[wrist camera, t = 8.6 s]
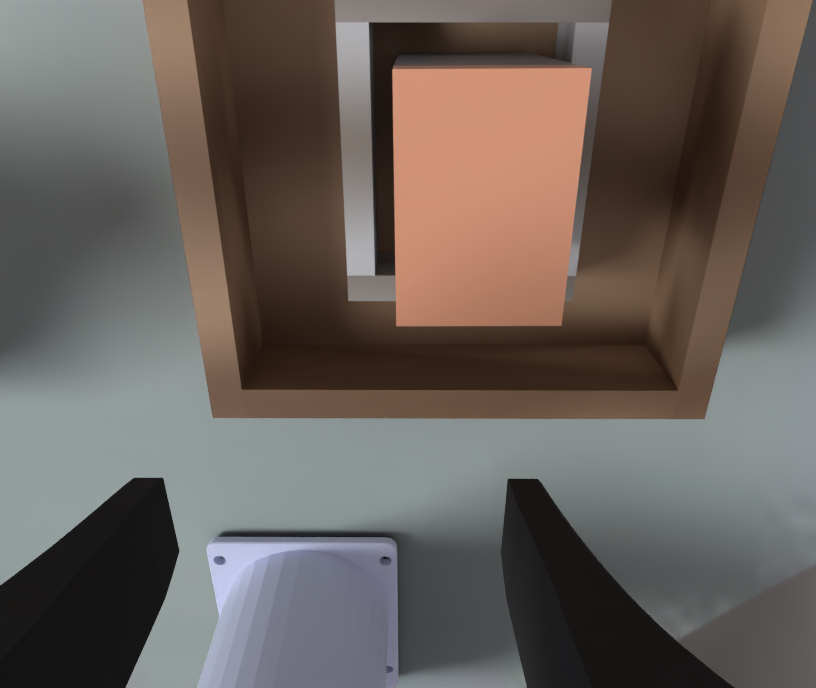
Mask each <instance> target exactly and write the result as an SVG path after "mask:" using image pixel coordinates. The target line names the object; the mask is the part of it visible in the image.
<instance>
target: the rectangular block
mask: <svg viewBox="0 0 816 688" xmlns="http://www.w3.org/2000/svg"><path fill="white" fill-rule="evenodd" d="M591 71H592V68H589V67H585V66H581V65H577V64H573V63H569V62H565V61H560V60H556V59H552V58H548V57H544V56H540V55H536V54H531V53H527V52H471V53H399V54H398V56H397V59H396V61H395V64H394V66H393V69H392V79H393V146H394V212H395V279H396V326H562V317H563V309H564V300H565V292H566V284H567V275H568V267H569V258H570V250H571V241H572V233H573V224H574V216H575V207H576V199H577V190H578V182H579V173H580V165H581V156H582V148H583V139H584V131H585V122H586V114H587V105H588V97H589V88H590V80H591Z"/></svg>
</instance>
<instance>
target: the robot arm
mask: <svg viewBox="0 0 816 688" xmlns="http://www.w3.org/2000/svg"><path fill="white" fill-rule="evenodd" d="M178 554H179V547H178V543H177V538H176V534H175V529H174V525H173V520H172V516H171V511H170V507H169V502H168V498H167V493H166V489H165V484H164V480H163V478H133V479H132V480H131V481H129V482H128V483H127V484H126V485H124V486H123V487H122V488H121V489H120V490H118V491H117V492H116V493H115V494H114V495H113V496H111V497H110V498H109V499H108V500H107V501H105V502H104V503H103V504H102V505H101V506H100V507H98V508H97V509H96V510H95V511H94V512H93V513H91V514H90V515H89V516H88V517H87V518H85V519H84V520H83V521H82V522H81V523H79V524H78V525H77V526H76V527H75V528H73V529H72V530H71V531H70V532H69V533H67V534H66V535H65V536H64V537H63V538H61V539H60V540H59V541H58V542H57V543H55V544H54V545H53V546H52V547H50V548H49V549H48V550H46V551H45V552H44V553H43V554H41V555H40V556H39V557H37V558H36V559H35V560H33V561H32V562H31V563H30V564H28V565H27V566H26V567H24V568H23V569H22V570H20V571H19V572H18V573H16V574H15V575H14V576H13V577H11V578H10V579H9V580H7V581H6V582H5V583H3V584H2V585H0V688H125V687H126V685H127V683H128V681H129V678H130V676H131V674H132V672H133V670H134V667H135V665H136V663H137V661H138V658H139V656H140V654H141V652H142V650H143V647H144V645H145V643H146V641H147V638H148V636H149V634H150V632H151V629H152V627H153V625H154V623H155V620H156V618H157V616H158V613H159V611H160V609H161V607H162V604H163V602H164V600H165V597H166V594H167V591H168V588H169V584H170V581H171V578H172V575H173V571H174V568H175V564H176V561H177V557H178ZM207 555H208V560H209V565H210V570H211V575H212V581H213V586H214V591H215V596H216V601H217V606H218V611H219V616H220V618H219V621H218V624H217V627H216V630H215V633H214V636H213V639H212V643H211V646H210V649H209V652H208V655H207V658H206V661H205V664H204V667H203V671H202V674H201V677H200V680H199V683H198V686H197V688H394V687H396V686H397V685H398V573H397V544H396V542H395V541H394V540H393V539H391V538H386V537H215V538H213V539H211V540H210V542H209V544H208V546H207ZM501 555H502V564H503V573H504V582H505V590H506V598H507V603H508V607H509V611H510V616H511V620H512V625H513V629H514V633H515V638H516V642H517V646H518V650H519V655H520V659H521V663H522V667H523V672H524V676H525V680H526V684H527V688H734V687H733V686H731V685H730V684H729V683H727V682H726V681H725V680H724V679H722V678H721V677H720V676H718V675H717V674H716V673H714V672H713V671H712V670H711V669H710V668H708V667H707V666H706V665H705V664H703V663H702V662H701V661H700V660H699V659H697V658H696V657H695V656H694V655H693V654H691V653H690V652H689V651H688V650H687V649H685V648H684V647H683V646H682V645H681V644H679V643H678V642H677V641H676V640H675V639H674V638H673V637H671V636H670V635H669V634H668V633H667V632H666V631H665V630H664V629H663V628H662V627H660V626H659V625H658V624H657V623H656V622H655V621H654V620H653V619H652V618H651V617H650V616H649V615H648V614H647V613H646V612H645V611H644V610H643V609H642V608H641V607H640V606H639V605H638V604H637V603H636V602H635V601H634V600H633V599H632V598H631V597H630V596H629V595H628V594H627V592H626V591H625V590H624V589H623V588H622V587H621V586H620V585H619V584H618V583H617V581H616V580H615V579H614V578H613V577H612V576H611V575H610V574H609V573H608V571H607V570H606V569H605V568H604V567H603V566H602V564H601V563H600V562H599V561H598V560H597V558H596V557H595V556H594V555H593V553H592V552H591V551H590V550H589V548H588V547H587V546H586V545H585V543H584V542H583V541H582V540H581V538H580V537H579V536H578V535H577V533H576V532H575V531H574V529H573V528H572V527H571V525H570V524H569V522H568V521H567V520H566V518H565V517H564V516H563V514H562V513H561V511H560V510H559V509H558V507H557V506H556V504H555V503H554V501H553V500H552V498H551V497H550V495H549V494H548V492H547V491H546V489H545V488H544V486H543V485H542V483H541V482H540V481H539V480H538V479H508V483H507V494H506V505H505V515H504V526H503V537H502V548H501ZM218 556H222V557H224V558H220V557H218ZM385 556H386V557H389V558H386V559H385V558H382V557H385Z"/></svg>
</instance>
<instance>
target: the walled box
mask: <svg viewBox="0 0 816 688" xmlns="http://www.w3.org/2000/svg"><path fill="white" fill-rule="evenodd" d="M812 1H813V0H143V6H144V12H145V18H146V24H147V30H148V36H149V41H150V47H151V53H152V59H153V65H154V71H155V77H156V83H157V89H158V95H159V101H160V107H161V113H162V119H163V125H164V131H165V136H166V142H167V148H168V154H169V160H170V166H171V172H172V178H173V184H174V190H175V196H176V202H177V208H178V214H179V220H180V225H181V231H182V237H183V243H184V249H185V255H186V261H187V267H188V273H189V279H190V285H191V291H192V297H193V303H194V309H195V315H196V320H197V326H198V332H199V338H200V344H201V350H202V356H203V362H204V368H205V374H206V380H207V386H208V392H209V398H210V404H211V410H212V415H213V418H516V419H705V415H706V411H707V407H708V403H709V400H710V396H711V392H712V388H713V384H714V380H715V376H716V372H717V369H718V365H719V361H720V357H721V353H722V349H723V345H724V341H725V338H726V334H727V330H728V326H729V322H730V318H731V314H732V311H733V307H734V303H735V299H736V295H737V291H738V287H739V283H740V280H741V276H742V272H743V268H744V264H745V260H746V256H747V253H748V249H749V245H750V241H751V237H752V233H753V229H754V225H755V222H756V218H757V214H758V210H759V206H760V202H761V198H762V195H763V191H764V187H765V183H766V179H767V175H768V171H769V167H770V164H771V160H772V156H773V152H774V148H775V144H776V140H777V137H778V133H779V129H780V125H781V121H782V117H783V113H784V109H785V106H786V102H787V98H788V94H789V90H790V86H791V82H792V79H793V75H794V71H795V67H796V63H797V59H798V55H799V51H800V48H801V44H802V40H803V36H804V32H805V28H806V24H807V21H808V17H809V13H810V9H811V5H812ZM471 52H527V53H531V54H536V55H540V56H544V57H548V58H552V59H556V60H560V61H565V62H569V63H573V64H577V65H581V66H585V67H589V68H592V71H591V80H590V88H589V97H588V105H587V114H586V122H585V131H584V139H583V148H582V156H581V165H580V173H579V182H578V190H577V199H576V207H575V216H574V224H573V233H572V241H571V250H570V258H569V267H568V275H567V284H566V292H565V300H564V309H563V317H562V326H396V279H395V212H394V146H393V79H392V69H393V66H394V64H395V61H396V59H397V56H398V54H399V53H471Z"/></svg>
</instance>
